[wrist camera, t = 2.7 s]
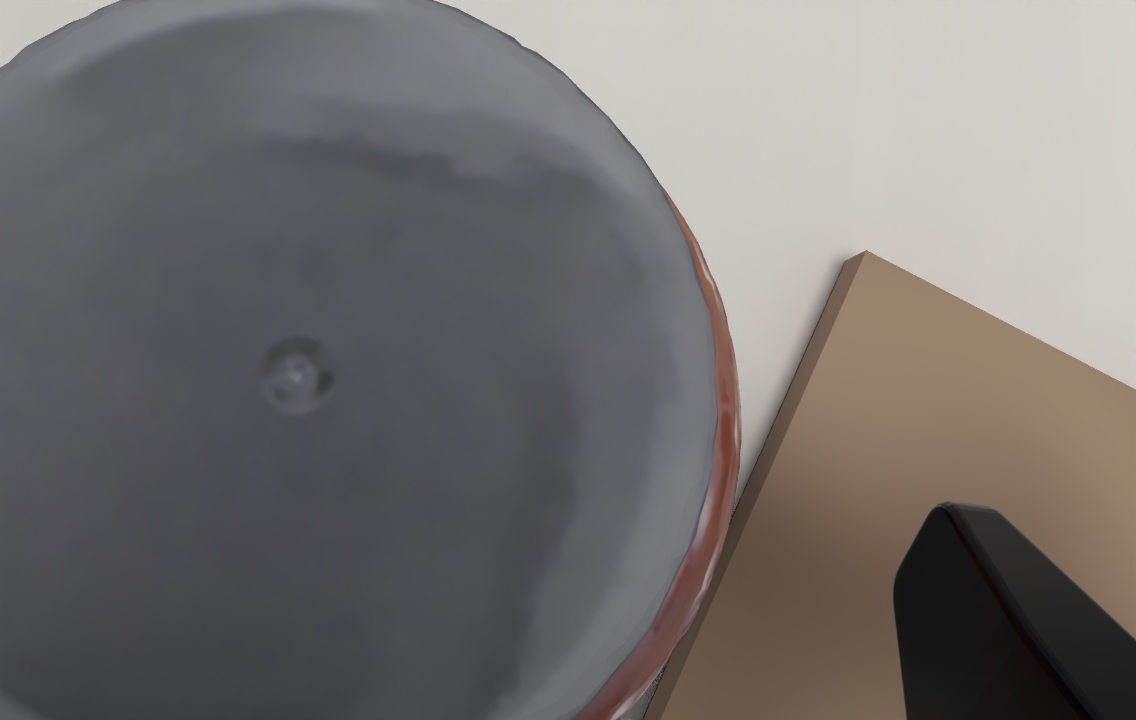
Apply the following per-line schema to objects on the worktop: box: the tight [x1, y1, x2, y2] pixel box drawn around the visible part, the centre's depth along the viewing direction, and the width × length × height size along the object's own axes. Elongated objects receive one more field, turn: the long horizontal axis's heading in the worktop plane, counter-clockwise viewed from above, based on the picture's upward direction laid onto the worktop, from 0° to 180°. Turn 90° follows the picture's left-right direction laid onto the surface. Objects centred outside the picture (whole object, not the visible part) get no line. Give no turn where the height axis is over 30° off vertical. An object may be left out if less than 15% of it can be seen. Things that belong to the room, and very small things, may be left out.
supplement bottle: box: [0, 0, 741, 720], centre depth 10 cm, size 6×6×11 cm
